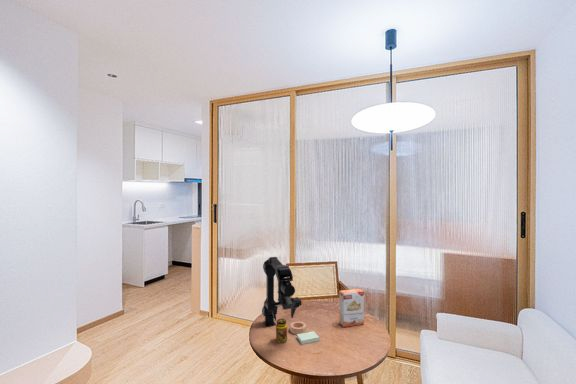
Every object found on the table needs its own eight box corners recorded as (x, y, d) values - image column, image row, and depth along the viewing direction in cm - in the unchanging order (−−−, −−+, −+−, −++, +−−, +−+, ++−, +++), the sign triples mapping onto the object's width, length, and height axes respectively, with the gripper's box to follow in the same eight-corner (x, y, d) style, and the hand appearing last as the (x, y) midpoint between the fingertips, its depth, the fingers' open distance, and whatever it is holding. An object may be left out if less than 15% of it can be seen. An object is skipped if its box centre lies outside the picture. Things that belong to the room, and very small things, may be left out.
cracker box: (343, 328, 172) (343, 293, 172) (339, 323, 178) (339, 290, 178) (364, 324, 176) (364, 291, 176) (359, 320, 182) (359, 287, 182)
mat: (295, 339, 160) (295, 337, 160) (314, 335, 164) (314, 334, 164) (301, 346, 152) (301, 345, 152) (320, 342, 156) (320, 340, 156)
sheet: (296, 338, 160) (296, 334, 160) (313, 334, 163) (313, 331, 163) (301, 344, 153) (301, 340, 153) (319, 340, 156) (319, 337, 156)
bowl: (288, 330, 171) (288, 323, 171) (302, 327, 174) (302, 320, 174) (293, 337, 162) (293, 329, 162) (308, 334, 165) (308, 327, 165)
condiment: (283, 346, 153) (283, 324, 153) (270, 342, 157) (270, 321, 157) (290, 340, 159) (290, 318, 159) (277, 336, 163) (277, 315, 163)
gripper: (270, 297, 142) (270, 328, 142) (305, 293, 148) (305, 323, 148) (265, 290, 153) (265, 319, 153) (297, 286, 158) (298, 314, 158)
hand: (283, 319), depth 153 cm, fingers open, 9 cm apart
